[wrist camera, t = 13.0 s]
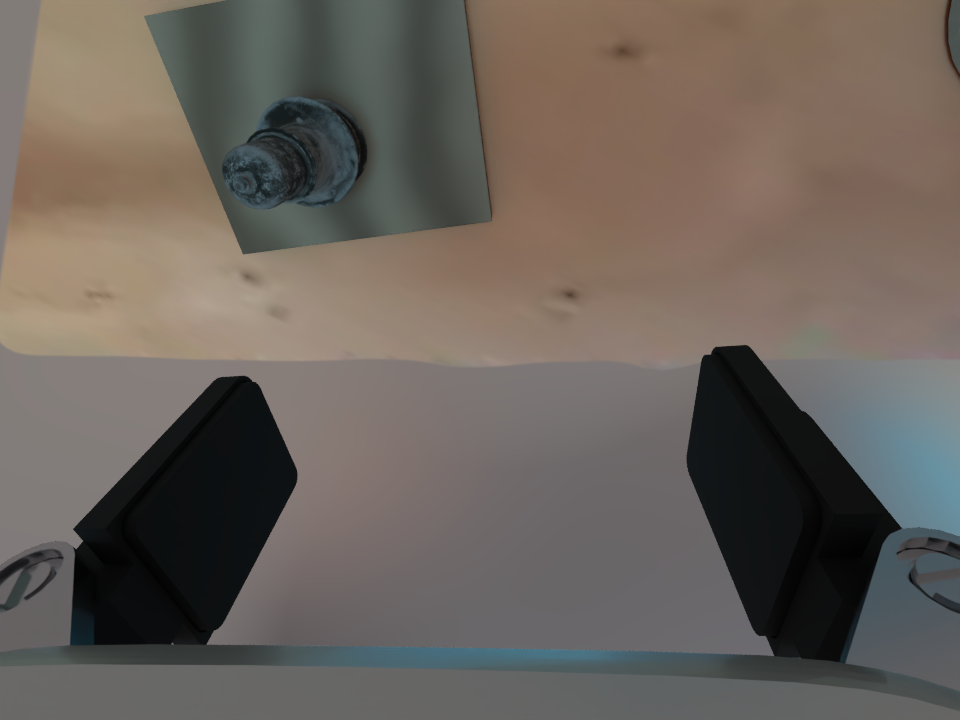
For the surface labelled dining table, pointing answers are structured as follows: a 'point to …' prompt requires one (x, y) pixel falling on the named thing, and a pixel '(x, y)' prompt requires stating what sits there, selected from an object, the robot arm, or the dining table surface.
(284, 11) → the serving board
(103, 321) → the dining table surface
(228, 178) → the dark grey chess piece
